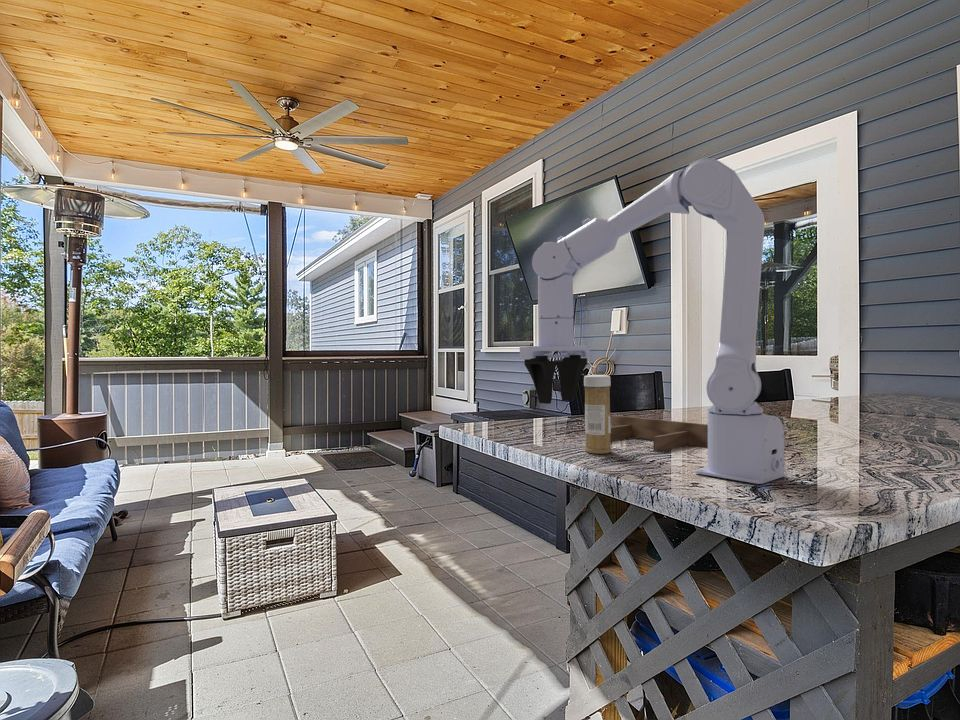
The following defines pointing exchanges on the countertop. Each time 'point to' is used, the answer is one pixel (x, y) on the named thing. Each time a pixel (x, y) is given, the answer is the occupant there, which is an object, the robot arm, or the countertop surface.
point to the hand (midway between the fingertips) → (556, 402)
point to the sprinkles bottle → (597, 414)
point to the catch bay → (660, 432)
